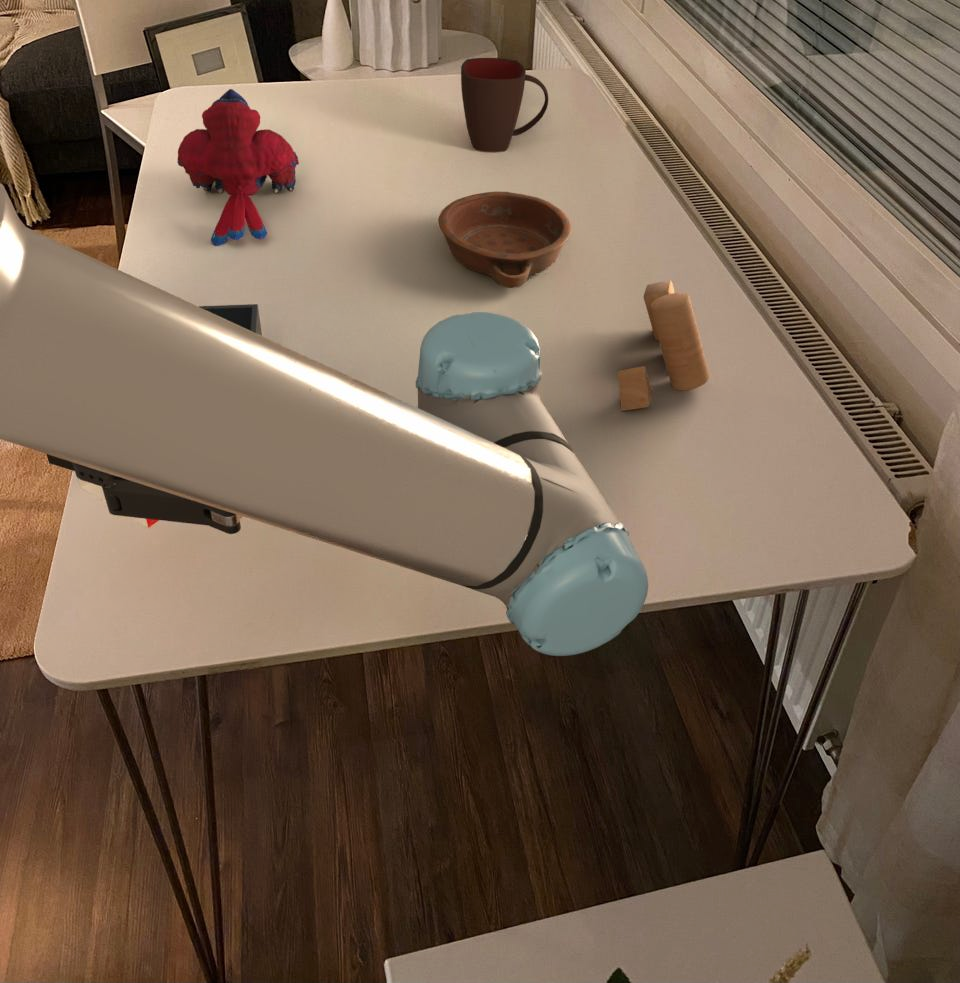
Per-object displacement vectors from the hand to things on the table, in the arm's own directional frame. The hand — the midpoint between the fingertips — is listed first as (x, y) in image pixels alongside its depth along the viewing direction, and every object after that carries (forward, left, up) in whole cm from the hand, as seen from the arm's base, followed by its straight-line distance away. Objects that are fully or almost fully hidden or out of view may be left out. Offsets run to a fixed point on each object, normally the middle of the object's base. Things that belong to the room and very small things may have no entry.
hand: (90, 409), depth 76 cm
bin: (-8, +25, -16) cm, 30 cm away
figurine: (-24, +61, -16) cm, 68 cm away
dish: (+13, +65, -16) cm, 68 cm away
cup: (+1, +99, -16) cm, 100 cm away
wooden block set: (+39, +47, -16) cm, 63 cm away
